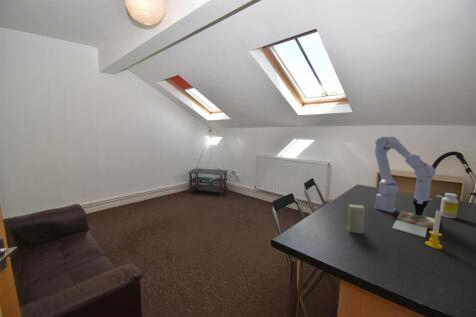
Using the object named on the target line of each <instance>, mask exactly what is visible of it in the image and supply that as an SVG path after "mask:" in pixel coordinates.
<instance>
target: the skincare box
mask: <svg viewBox="0 0 476 317" xmlns="http://www.w3.org/2000/svg"><path fill="white" fill-rule="evenodd" d="M365 211H366V207H365V206H364V205H361V204H351V203H350V204H349V203H348V208H347V220H346V221H347V223H346V224H347V226H346V228H347V232H350V233H355V234H364V228H365V213H366V212H365Z"/></svg>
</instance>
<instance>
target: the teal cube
mask: <svg viewBox="0 0 476 317" xmlns="http://www.w3.org/2000/svg"><path fill="white" fill-rule="evenodd" d="M426 209H427V207H425V208H424V211H423V213H422V215H421V216H420V215H416V212H415V206H414V207H413V216H417V217H422V218H424V217H425V215H426Z"/></svg>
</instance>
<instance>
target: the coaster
mask: <svg viewBox="0 0 476 317" xmlns="http://www.w3.org/2000/svg"><path fill="white" fill-rule="evenodd" d="M391 229H392V230H395V231H399V232H403V233H406V234H410V235H414V236H417V237H421V238H424V239H425V238H426V237H427V231H428V228H426V227H422V226H418V225H414V224H410V223H407V222H403V221H399V220H397V219H396V220H395V221H394V224H393V226H392V228H391Z"/></svg>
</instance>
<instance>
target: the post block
mask: <svg viewBox="0 0 476 317" xmlns="http://www.w3.org/2000/svg"><path fill="white" fill-rule="evenodd" d="M396 220H398V221H402V222H406V223H410V224H414V225H418V226H422V227H425V228H427V229H431V230H433V227H434V221H435V217H434V218H433V217H429V216H427V215H426V214H425V217H424V218H422V217H417V216H413V212H408V211H404V210H401V211H400V213H399V214H398V216H397V218H396Z"/></svg>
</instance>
